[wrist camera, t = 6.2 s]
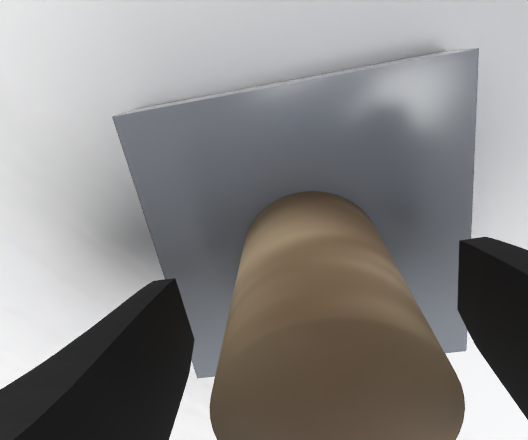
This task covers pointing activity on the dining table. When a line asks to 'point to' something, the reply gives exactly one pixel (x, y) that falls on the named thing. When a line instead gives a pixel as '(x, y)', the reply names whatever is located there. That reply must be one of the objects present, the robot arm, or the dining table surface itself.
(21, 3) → the dining table surface
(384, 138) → the plate
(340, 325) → the oak cylinder
